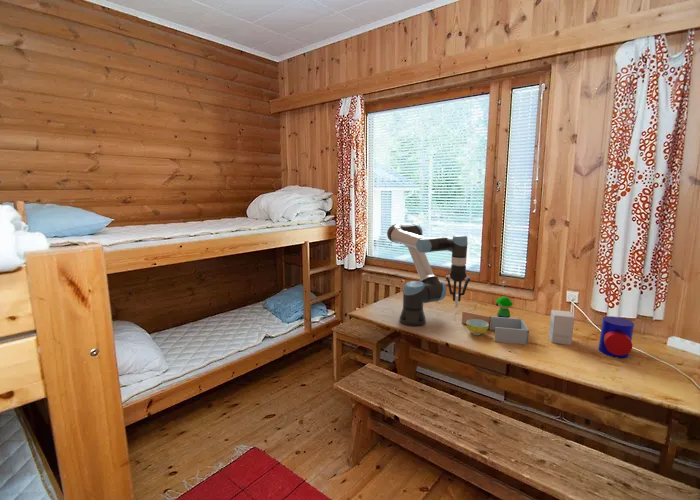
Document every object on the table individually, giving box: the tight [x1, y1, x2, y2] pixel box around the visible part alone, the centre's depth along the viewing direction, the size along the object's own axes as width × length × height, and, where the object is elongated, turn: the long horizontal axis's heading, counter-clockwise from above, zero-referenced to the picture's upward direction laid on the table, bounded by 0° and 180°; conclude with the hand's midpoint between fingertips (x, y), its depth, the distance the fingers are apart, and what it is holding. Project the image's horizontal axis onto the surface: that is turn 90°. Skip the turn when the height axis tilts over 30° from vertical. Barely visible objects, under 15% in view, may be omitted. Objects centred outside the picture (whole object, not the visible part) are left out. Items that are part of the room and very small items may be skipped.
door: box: [461, 310, 491, 330], centre depth 203 cm, size 2×16×7 cm, turn 57°
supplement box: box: [548, 309, 575, 346], centre depth 184 cm, size 9×9×15 cm
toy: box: [495, 296, 514, 318], centre depth 209 cm, size 9×9×15 cm
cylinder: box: [598, 315, 635, 359], centre depth 171 cm, size 20×12×16 cm, turn 149°
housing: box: [489, 315, 530, 345], centre depth 189 cm, size 16×16×8 cm
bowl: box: [465, 319, 489, 336], centre depth 193 cm, size 11×12×6 cm
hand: (456, 306), depth 193 cm, fingers closed
